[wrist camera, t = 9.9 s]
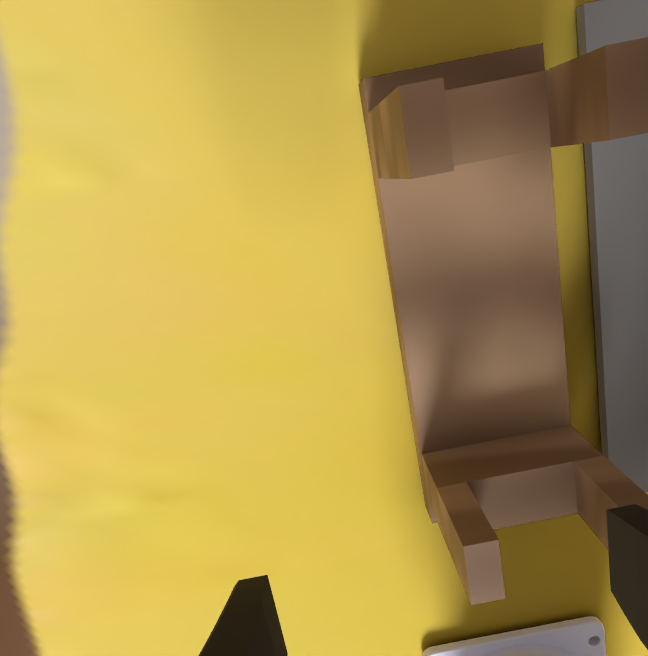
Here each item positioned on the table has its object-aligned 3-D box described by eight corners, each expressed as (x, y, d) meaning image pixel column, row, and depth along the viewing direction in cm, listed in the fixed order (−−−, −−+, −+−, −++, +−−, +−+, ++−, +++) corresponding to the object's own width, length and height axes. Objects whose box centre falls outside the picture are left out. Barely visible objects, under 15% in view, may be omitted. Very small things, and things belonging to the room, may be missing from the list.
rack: (561, 478, 22) (664, 596, 16) (425, 505, 22) (474, 632, 16) (526, 51, 18) (649, -15, 12) (358, 85, 18) (391, 36, 12)
